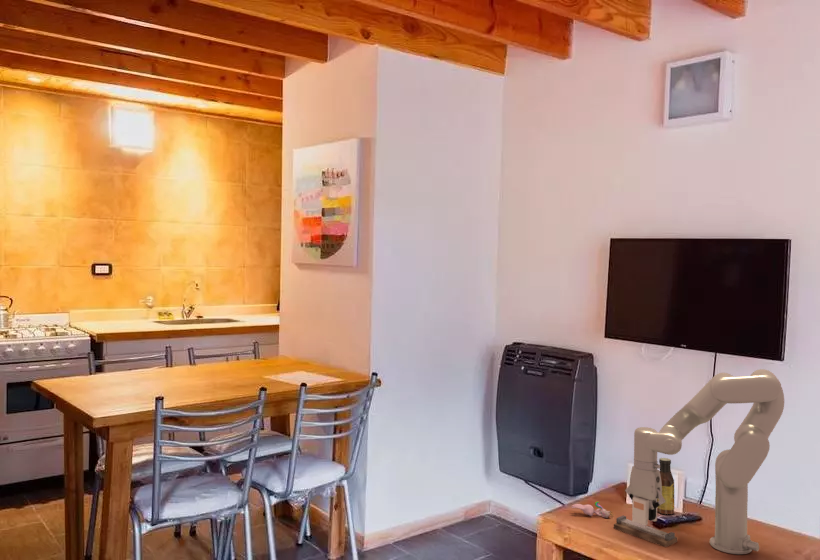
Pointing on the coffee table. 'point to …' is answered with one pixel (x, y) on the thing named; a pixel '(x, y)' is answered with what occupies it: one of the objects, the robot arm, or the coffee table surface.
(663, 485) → the sauce bottle
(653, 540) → the board
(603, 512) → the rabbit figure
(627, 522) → the rail
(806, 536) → the coffee table surface
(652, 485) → the robot arm
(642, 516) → the module
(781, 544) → the coffee table surface
